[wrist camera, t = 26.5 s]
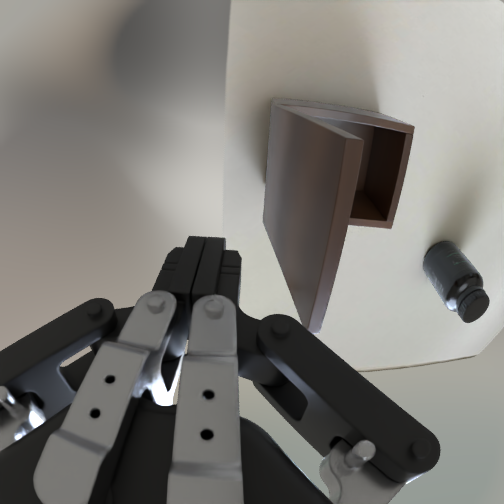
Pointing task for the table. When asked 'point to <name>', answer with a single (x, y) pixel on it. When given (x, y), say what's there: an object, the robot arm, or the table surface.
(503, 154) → the table surface
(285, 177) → the lid
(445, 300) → the supplement bottle
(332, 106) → the chest
